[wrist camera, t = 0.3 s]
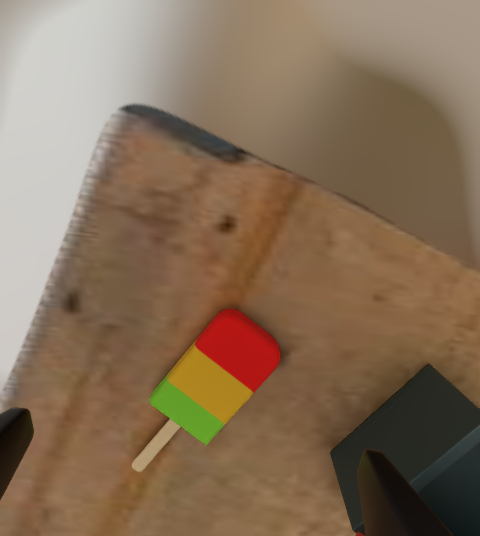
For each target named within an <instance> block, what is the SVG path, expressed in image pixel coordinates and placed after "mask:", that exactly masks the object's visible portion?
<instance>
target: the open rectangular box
mask: <svg viewBox="0 0 480 536" xmlns="http://www.w3.org/2000/svg"><path fill="white" fill-rule="evenodd" d="M365 449H372V450H379V451H381V452H382V453H384V455H385V456H386V457H387V458H388V459H389V460H390V462H391V463H392V464H393V465H394V466H395V467H396V469H397V470H398V471H399V472H400V473H401V474H402V476H403V477H404V478H405V479H406V480H407V482H408V483H409V484H410V485H411V486H412V487H413V489H414V490H415V491H416V492H417V493H418V494H419V496H420V497H421V498H422V499H423V500H424V501H425V503H426V504H427V505H428V506H429V507H430V508H431V510H432V511H433V512H434V513H435V514H436V516H437V517H438V518H439V519H440V520H441V521H442V523H443V524H444V525H445V526H446V527H447V528H448V530H449V531H450V532H451V533H452V534H453V535H454V536H480V409H479V408H478V407H477V406H475V405H474V404H473V403H472V402H471V401H470V400H469V399H468V398H467V397H466V396H464V395H463V394H462V393H461V392H460V391H459V390H458V389H457V388H456V387H454V386H453V385H452V384H451V383H450V382H449V381H448V380H447V379H446V378H445V377H443V376H442V375H441V374H440V373H439V372H438V371H437V370H436V369H435V368H433V367H432V366H431V365H430V364H428V365H427V366H426V367H425V368H424V369H422V370H421V371H420V372H419V373H418V374H417V375H416V376H415V377H414V378H412V379H411V380H410V381H409V382H408V383H407V384H406V385H405V386H404V387H402V388H401V389H400V390H399V391H398V392H397V393H396V394H395V395H394V396H392V397H391V398H390V399H389V400H388V401H387V402H386V403H385V404H384V405H382V406H381V407H380V408H379V409H378V410H377V411H376V412H375V413H374V414H372V415H371V416H370V417H369V418H368V419H367V420H366V421H365V422H364V423H362V424H361V425H360V426H359V427H358V428H357V429H356V430H355V431H354V432H352V433H351V434H350V435H349V436H348V437H347V438H346V439H345V440H344V441H342V442H341V443H340V444H339V445H338V446H337V447H336V448H335V449H334V450H332V451H331V452H330V455H331V458H332V462H333V465H334V468H335V472H336V475H337V479H338V482H339V485H340V489H341V492H342V496H343V499H344V502H345V506H346V509H347V513H348V516H349V520H350V523H351V526H352V530H353V531H354V532H355V533H356V534H357V532H360V533H362V534H364V535H366V534H365V528H364V521H363V515H362V508H361V502H360V495H359V489H358V482H357V469H358V466H359V463H360V460H361V457H362V454H363V452H364V450H365Z"/></svg>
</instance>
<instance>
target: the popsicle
mask: <svg viewBox="0 0 480 536" xmlns="http://www.w3.org/2000/svg"><path fill="white" fill-rule="evenodd" d="M280 359H281V355H280V347H279V345H278V343H277V341H276V340H275V339H274V338H273V337H272V336H271V335H270V334H268V333H267V332H266V331H265V330H263V329H262V328H261V327H260V326H258V325H257V324H256V323H254V322H253V321H252V320H251V319H249V318H248V317H247V316H246V315H244V314H243V313H241V312H239V311H238V310H235V309H225V310H223V311H221V312H220V313H219V314H217V315H216V316H215V317H214V319H213V320H212V321H211V322H210V323H209V325H208V326H207V327H206V328H205V329H204V331H203V332H202V333H201V334H200V336H199V337H198V338H197V339H196V340H195V342H194V343H193V344H192V345H191V346H190V348H189V349H188V350H187V351H186V352H185V354H184V355H183V356H182V357H181V358H180V360H179V361H178V362H177V363H176V364H175V366H174V367H173V368H172V369H171V370H170V372H169V373H168V374H167V375H166V377H165V378H164V379H163V380H162V381H161V383H160V384H159V385H158V386H157V387H156V389H155V390H154V391H153V393H152V395H151V397H150V400H149V401H150V404H151V405H152V406H154V407H155V408H156V409H158V410H159V411H160V412H162V413H163V414H164V415H166V416H167V417H168V418H170V419H169V420H168V421H167V422H166V424H165V425H164V426H163V427H162V428H161V429H160V431H159V432H158V433H157V434H156V435H155V436H154V438H153V439H152V440H151V441H150V442H149V443H148V445H147V446H146V447H145V448H144V449H143V450H142V452H141V453H140V454H139V455H138V456H137V457H136V459H135V460H134V461H133V463H132V468H133V469H134V470H136V471H138V472H141V471H142V470H143V469H144V468H145V467H146V466H147V465H148V464H149V462H150V461H151V460H152V459H153V458H154V457H155V456H156V454H157V453H158V452H159V451H160V450H161V449H162V448H163V446H164V445H165V444H166V443H167V442H168V441H169V440H170V438H171V437H172V436H173V435H174V434H175V433H176V432H177V430H178V429H179V428H180V427H182V428H183V429H185V430H186V431H187V432H189V433H190V434H191V435H193V436H194V437H195V438H197V439H198V440H199V441H201V442H202V443H203V444H205V445H207V444H208V443H209V442H210V441H211V440H212V439H213V437H214V436H215V435H216V434H217V433H218V432H219V431H220V430H221V429H222V428H223V426H224V425H225V424H226V423H227V422H228V421H229V420H230V419H231V418H232V417H233V415H234V414H235V413H236V412H237V411H238V410H239V409H240V408H241V407H242V405H243V404H244V403H245V402H246V401H247V400H248V399H249V398H250V397H251V396H252V394H253V393H254V392H255V391H256V390H257V389H258V388H259V387H260V386H261V384H262V383H263V382H264V381H265V380H266V379H267V378H268V377H269V376H270V375H271V373H272V372H273V371H274V370H275V369H276V367H277V366H278V364H279V362H280Z"/></svg>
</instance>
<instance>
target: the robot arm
mask: <svg viewBox="0 0 480 536" xmlns="http://www.w3.org/2000/svg"><path fill="white" fill-rule="evenodd" d="M33 434H34V428H33V424H32V419H31V414H30V411H29V410H28V409H25V408H16V407H14V408H11V409H8V410H7V411H5V412H3V413H2V414H0V500H1V498H2V496H3V494H4V493H5V491H6V489H7V487H8V485H9V483H10V481H11V479H12V477H13V475H14V473H15V471H16V470H17V468H18V466H19V464H20V462H21V460H22V458H23V456H24V454H25V452H26V450H27V448H28V446H29V444H30V443H31V440H32V438H33ZM357 482H358V489H359V495H360V502H361V508H362V515H363V521H364V528H365V534H366V536H454V535H453V534H452V533H451V532H450V531H449V530H448V528H447V527H446V526H445V525H444V524H443V523H442V521H441V520H440V519H439V518H438V517H437V516H436V514H435V513H434V512H433V511H432V510H431V508H430V507H429V506H428V505H427V504H426V503H425V501H424V500H423V499H422V498H421V497H420V496H419V494H418V493H417V492H416V491H415V490H414V489H413V487H412V486H411V485H410V484H409V483H408V482H407V480H406V479H405V478H404V477H403V476H402V474H401V473H400V472H399V471H398V470H397V469H396V467H395V466H394V465H393V464H392V463H391V462H390V460H389V459H388V458H387V457H386V456H385V455H384V453H382V452H381V451H379V450H372V449H365V450H364V452H363V454H362V457H361V460H360V463H359V466H358V469H357Z"/></svg>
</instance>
